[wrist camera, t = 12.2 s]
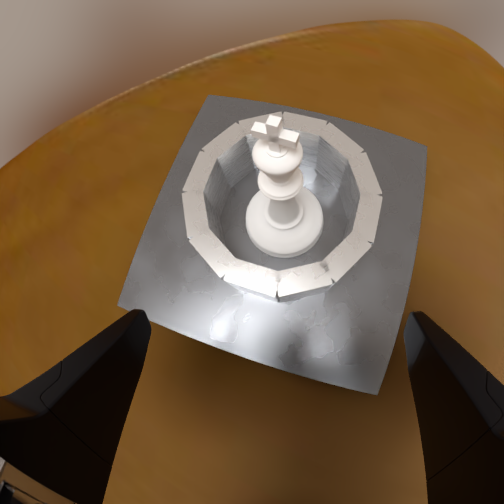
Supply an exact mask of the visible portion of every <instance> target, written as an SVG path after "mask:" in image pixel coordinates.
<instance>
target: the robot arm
mask: <svg viewBox="0 0 504 504" xmlns="http://www.w3.org/2000/svg"><path fill="white" fill-rule="evenodd" d="M150 335H151V325H150V322H149V320H148V317H147V315H146V312H145V311H144V310H142V309H133V310H131V311H130V312H128V313H127V314H125V315H124V316H123V317H121V318H120V319H118V320H117V321H115V322H114V323H113V324H111V325H110V326H108V327H107V328H106V329H104V330H103V331H102V332H100V333H99V334H97V335H96V336H95V337H93V338H92V339H90V340H89V341H88V342H86V343H85V344H84V345H82V346H81V347H79V348H78V349H77V350H75V351H74V352H73V353H71V354H70V355H68V356H67V357H66V358H64V359H63V361H60V362H59V363H57V364H56V365H55V366H53V367H52V368H51V369H49V370H48V371H46V372H45V373H43V374H42V375H40V376H39V377H37V378H36V379H34V380H32V381H31V382H29V383H28V384H26V385H24V386H23V387H21V388H19V389H18V390H16V391H15V392H13V393H11V394H9V395H6V396H2V397H0V504H75V503H77V504H102V503H103V499H104V495H105V491H106V487H107V484H108V480H109V476H110V472H111V469H112V465H113V461H114V457H115V454H116V451H117V447H118V444H119V440H120V437H121V434H122V430H123V427H124V424H125V421H126V417H127V414H128V411H129V408H130V405H131V402H132V399H133V396H134V393H135V390H136V387H137V384H138V381H139V378H140V375H141V372H142V369H143V365H144V361H145V357H146V352H147V348H148V344H149V339H150ZM404 341H405V348H406V355H407V363H408V371H409V377H410V382H411V387H412V391H413V396H414V401H415V406H416V411H417V417H418V423H419V428H420V435H421V441H422V448H423V455H424V463H425V472H426V481H427V482H426V483H427V495H428V504H504V385H503V384H502V383H501V382H500V381H498V380H497V379H496V378H495V377H494V376H493V375H492V374H491V373H490V372H489V371H487V369H486V368H485V367H484V366H483V365H481V364H480V363H479V362H478V361H477V360H476V359H475V358H474V357H473V356H472V355H471V354H470V353H469V352H467V351H466V350H465V349H464V348H463V347H462V346H461V345H460V344H459V343H458V342H456V341H455V340H454V339H453V338H452V337H451V336H450V335H449V334H447V333H446V332H445V331H444V330H443V329H442V328H441V327H440V326H438V325H437V324H436V323H435V322H434V321H433V320H431V319H430V318H429V317H428V316H427V315H426V314H424V313H423V312H421V311H417V312H411V313H410V314H409V317H408V320H407V323H406V326H405V329H404Z"/></svg>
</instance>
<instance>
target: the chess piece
mask: <svg viewBox="0 0 504 504" xmlns="http://www.w3.org/2000/svg"><path fill="white" fill-rule="evenodd" d="M251 134H252V137H255V138H258V139H259V140H258V141H257V142H256V143H255V145H254V147H253V151H252V157H253V161H254V163H255V165H256V166H257V167H258V169H259V170H260V173H259V175H258V186H259V189H260V191H258V192H257V193H256V194H255V195H254V196H253V198H252V199H251V201H250V203H249V205H248V207H247V211H246V229H247V233H248V235H249V237H250V239H251V241H252V242H253V243H254V245H255V246H256V247H257V248H258V249H260V250H261V251H262V252H264V253H266V254H268V255H270V256H273V257H278V258H291V257H295V256H299V255H301V254H303V253H305V252H307V251H308V250H309V249H311V248H312V247H313V246H314V245H315V243H316V242H317V241H318V239H319V237H320V235H321V233H322V229H323V212H322V208H321V205H320V203H319V201H318V199H317V198H316V197H315V195H314V194H313V193H312V192H311V191H309V190H308V189H307V188H305V187H303V183H304V178H303V174H302V172H301V170H300V169H299V165H300V163H301V161H302V158H303V148H302V146H301V144H300V142H299V140H300V133H297V132H294V131H290V130H286V129H283V124H282V118H281V117H277V116H273V115H270V116H269V117H268V119H267V121H266V123H265V124H264V123H260V122H256V121H255V123H254V125H253V127H252V129H251Z"/></svg>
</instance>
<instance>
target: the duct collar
mask: <svg viewBox="0 0 504 504" xmlns="http://www.w3.org/2000/svg"><path fill="white" fill-rule="evenodd" d="M270 115H273V116H277V117H281V118H282V124H283V129H286V130H290V131H294V132H297V133H300V140H299V142H300V144H301V146H302V148H303V158H302V161H301V163H300V165H299V169H300V170H301V172H302V174H303V178H304V183H303V187H305V188H307V189H308V190H309V191H311V192H312V193H313V194H314V195H315V197H316V198H317V199H318V201H319V203H320V205H321V208H322V212H323V229H322V233H321V235H320V237H319V239H318V241H317V242H316V243H315V245H314V246H313V247H312V248H311V249H309V250H308V251H307V252H305V253H303V254H301V255H299V256H295V257H291V258H278V257H273V256H270V255H268V254H266V253H264V252H262V251H261V250H260V249H258V248H257V247H256V246H255V245H254V243H253V242H252V241H251V239H250V237H249V235H248V233H247V229H246V211H247V207H248V205H249V203H250V201H251V199H252V198H253V196H254V195H255V194H256V193H257V192H258V191H260V189H259V186H258V175H259V173H260V170H259V169H258V167H257V166H256V165H255V163H254V161H253V157H252V151H253V147H254V145H255V143H256V142H257V141H258V140H259V139H258V138H255V137H252V134H251V129H252V127H253V125H254V123H255V121H256V122H260V123H264V124H265V123H266V121H267V119H268V117H269V116H270ZM426 160H427V146H425V145H422V144H420V143H417V142H414V141H411V140H409V139H406V138H403V137H400V136H397V135H394V134H391V133H388V132H385V131H382V130H379V129H375V128H372V127H369V126H366V125H362V124H359V123H355V122H352V121H348V120H344V119H340V118H337V117H333V116H329V115H324V114H320V113H316V112H312V111H307V110H302V109H298V108H293V107H288V106H282V105H277V104H271V103H266V102H260V101H253V100H246V99H239V98H232V97H224V96H215V95H208V97H207V99H206V100H205V102H204V104H203V106H202V108H201V110H200V111H199V113H198V115H197V117H196V119H195V121H194V123H193V125H192V127H191V129H190V130H189V132H188V134H187V136H186V138H185V140H184V142H183V144H182V146H181V148H180V150H179V153H178V155H177V157H176V159H175V161H174V163H173V165H172V167H171V169H170V171H169V174H168V176H167V178H166V180H165V182H164V185H163V187H162V189H161V191H160V194H159V196H158V198H157V201H156V203H155V205H154V208H153V210H152V212H151V215H150V217H149V220H148V222H147V225H146V227H145V230H144V232H143V235H142V237H141V240H140V242H139V245H138V248H137V250H136V253H135V256H134V258H133V261H132V264H131V267H130V269H129V272H128V275H127V278H126V281H125V284H124V287H123V290H122V293H121V296H120V299H119V302H118V306H120V307H122V308H124V309H126V310H128V311H131V310H133V309H142V310H144V311H145V312H146V315H147V317H148V320H150V321H153V322H155V323H157V324H159V325H162V326H164V327H166V328H169V329H171V330H174V331H176V332H178V333H181V334H183V335H186V336H188V337H191V338H193V339H196V340H198V341H201V342H203V343H206V344H209V345H211V346H214V347H216V348H219V349H222V350H225V351H227V352H230V353H233V354H236V355H238V356H241V357H244V358H247V359H250V360H253V361H256V362H259V363H262V364H265V365H268V366H271V367H274V368H277V369H280V370H284V371H287V372H290V373H293V374H297V375H300V376H304V377H307V378H311V379H314V380H318V381H321V382H325V383H329V384H332V385H336V386H340V387H344V388H348V389H352V390H356V391H360V392H365V393H369V394H374V395H378V392H379V389H380V386H381V384H382V381H383V378H384V375H385V372H386V369H387V366H388V363H389V360H390V357H391V354H392V351H393V347H394V344H395V341H396V337H397V334H398V330H399V326H400V323H401V319H402V315H403V311H404V307H405V303H406V299H407V295H408V290H409V286H410V281H411V276H412V271H413V266H414V261H415V255H416V249H417V243H418V237H419V230H420V223H421V216H422V207H423V198H424V188H425V176H426Z"/></svg>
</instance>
